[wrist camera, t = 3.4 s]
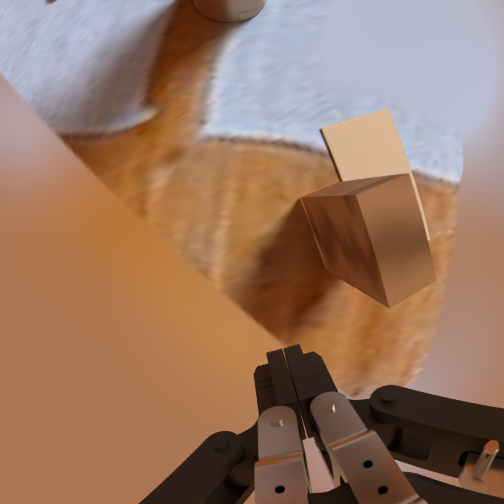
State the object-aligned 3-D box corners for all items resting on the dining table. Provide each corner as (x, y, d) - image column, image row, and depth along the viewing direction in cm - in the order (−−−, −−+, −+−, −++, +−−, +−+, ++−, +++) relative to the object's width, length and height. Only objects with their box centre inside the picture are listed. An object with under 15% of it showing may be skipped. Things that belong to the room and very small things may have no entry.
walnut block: (299, 197, 34) (355, 194, 20) (337, 182, 34) (408, 173, 20) (326, 270, 35) (389, 308, 22) (362, 253, 36) (436, 280, 22)
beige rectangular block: (320, 128, 33) (321, 127, 32) (386, 109, 33) (387, 108, 33) (371, 270, 36) (372, 270, 36) (429, 239, 37) (430, 239, 37)
